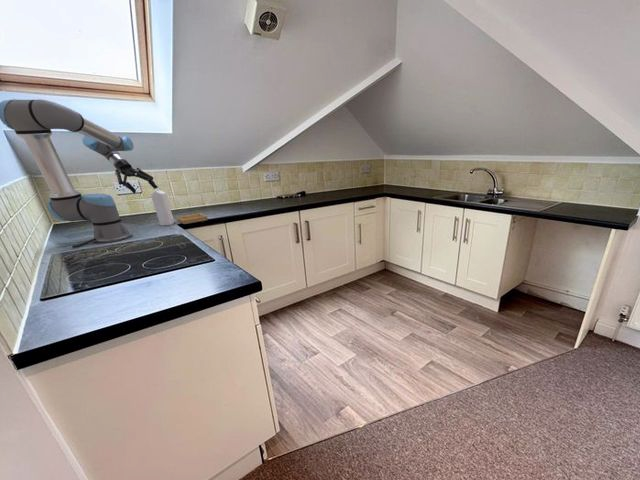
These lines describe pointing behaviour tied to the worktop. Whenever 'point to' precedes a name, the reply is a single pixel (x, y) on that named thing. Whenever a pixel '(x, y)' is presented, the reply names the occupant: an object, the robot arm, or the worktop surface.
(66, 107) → the robot arm
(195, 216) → the tray
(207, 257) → the worktop surface
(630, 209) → the worktop surface
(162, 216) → the milk
